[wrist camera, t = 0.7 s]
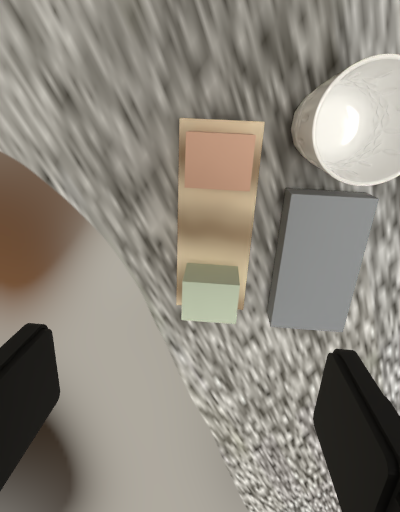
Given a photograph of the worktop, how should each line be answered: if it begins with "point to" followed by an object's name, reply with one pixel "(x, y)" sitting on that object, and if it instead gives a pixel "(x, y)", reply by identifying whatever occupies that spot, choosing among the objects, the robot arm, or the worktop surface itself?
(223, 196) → the long beige board
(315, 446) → the worktop surface
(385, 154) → the white cup
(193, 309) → the pale green block
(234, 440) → the worktop surface
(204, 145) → the salmon square box
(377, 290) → the worktop surface
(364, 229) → the dock
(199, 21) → the worktop surface
